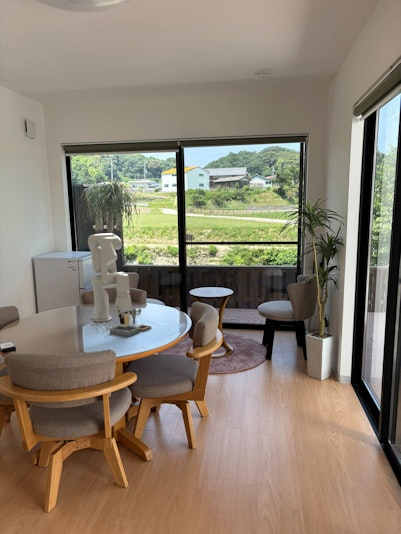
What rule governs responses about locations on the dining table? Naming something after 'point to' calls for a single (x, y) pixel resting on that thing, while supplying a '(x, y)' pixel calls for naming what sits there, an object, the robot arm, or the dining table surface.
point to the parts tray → (125, 330)
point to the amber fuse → (126, 320)
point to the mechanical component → (134, 314)
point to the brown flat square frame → (144, 327)
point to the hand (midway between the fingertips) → (124, 322)
